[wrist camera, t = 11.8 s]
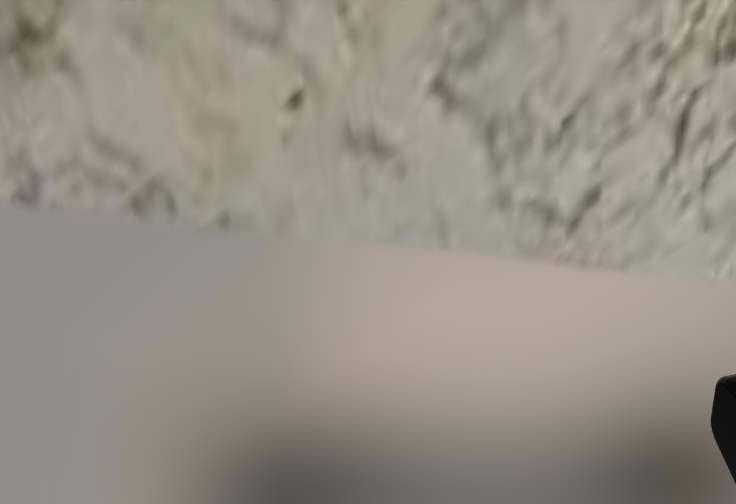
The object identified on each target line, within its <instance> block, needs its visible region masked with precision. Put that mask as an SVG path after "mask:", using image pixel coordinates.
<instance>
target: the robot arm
mask: <svg viewBox="0 0 736 504" xmlns="http://www.w3.org/2000/svg"><path fill="white" fill-rule="evenodd" d="M711 428H712V432H713V435H714V438H715V440H716V443H717V445H718V447H719V449H720V451H721V453H722V456H723V458H724V460H725V462H726V464H727V466H728V468H729V471H730V473H731V475H732V477H733V479H734V481H735V484H736V374H734V375H729V376H724V377H722V378H720V379H719V380H718V382H717V384H716V388H715V394H714V401H713V407H712V414H711Z"/></svg>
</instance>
